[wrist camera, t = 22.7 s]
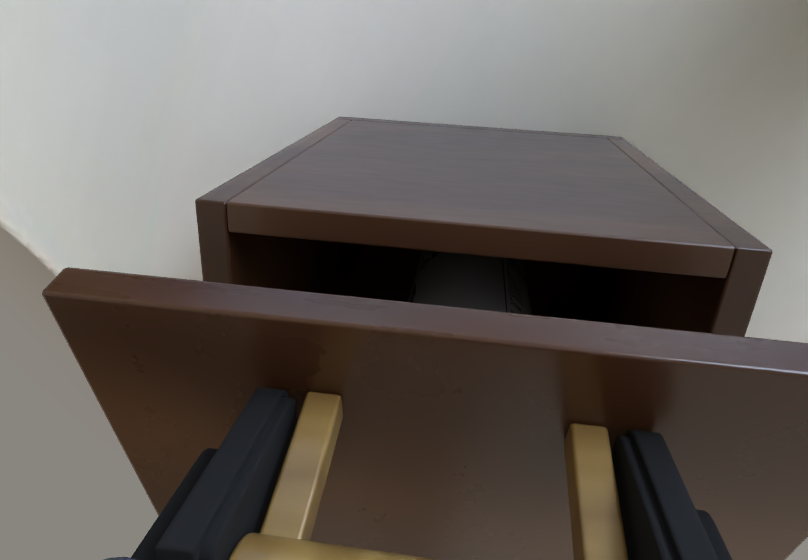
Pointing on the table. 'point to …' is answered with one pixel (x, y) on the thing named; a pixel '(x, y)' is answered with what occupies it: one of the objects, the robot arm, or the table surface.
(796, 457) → the chest lid
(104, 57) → the table surface
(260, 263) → the chest
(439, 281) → the energy drink can
